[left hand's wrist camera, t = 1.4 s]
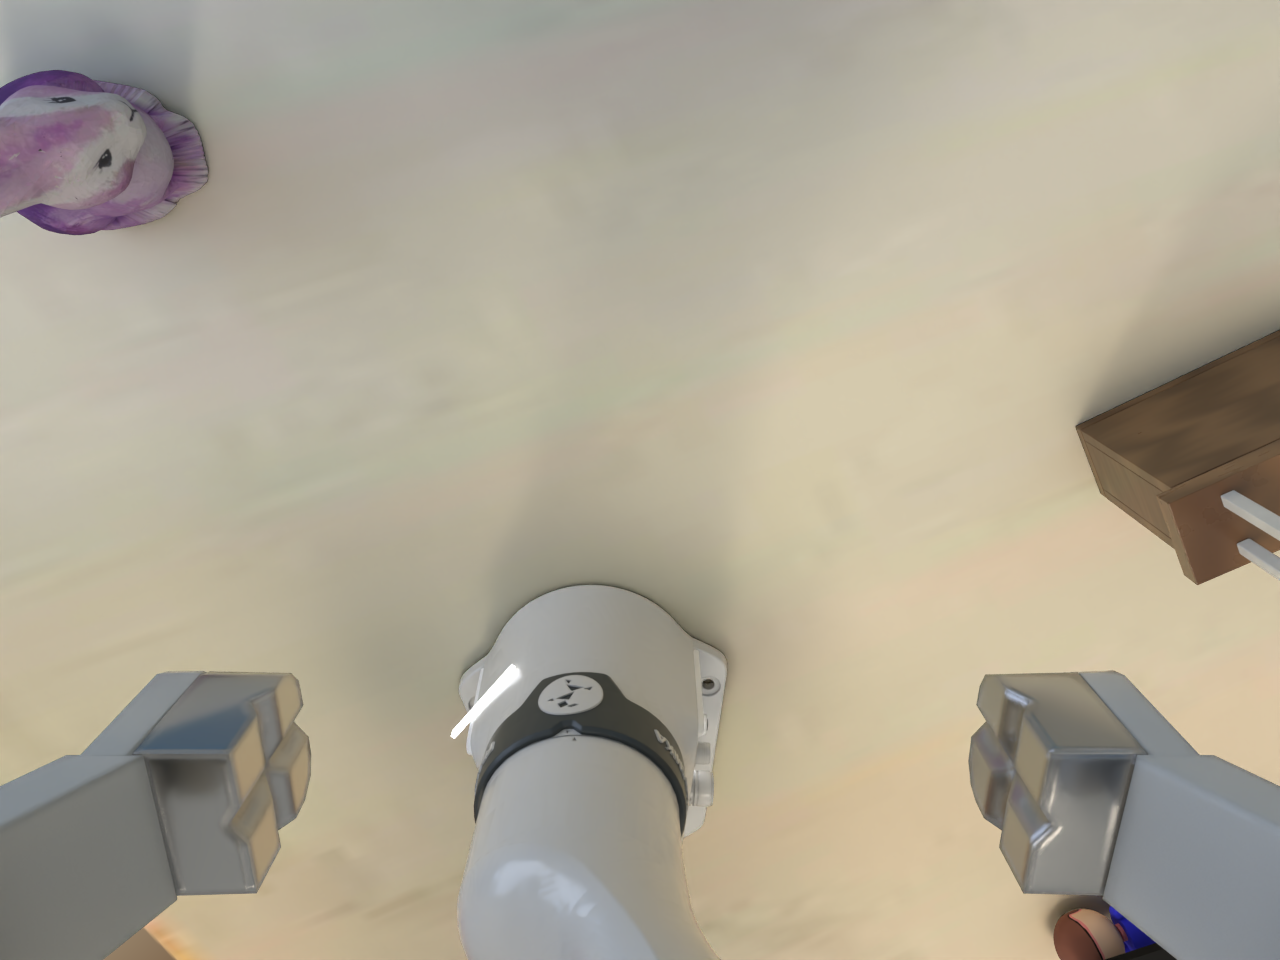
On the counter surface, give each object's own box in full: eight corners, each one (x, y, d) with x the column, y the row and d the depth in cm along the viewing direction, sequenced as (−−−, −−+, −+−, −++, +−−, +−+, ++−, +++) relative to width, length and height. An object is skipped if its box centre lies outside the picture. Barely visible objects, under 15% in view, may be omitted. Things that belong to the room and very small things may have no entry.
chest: (1100, 494, 57) (1198, 568, 47) (1074, 426, 55) (1170, 487, 45) (1317, 395, 54) (1469, 450, 44) (1297, 321, 53) (1450, 361, 43)
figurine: (246, 133, 49) (88, 127, 35) (154, 274, 52) (-27, 320, 38) (95, 9, 47) (-140, -52, 33) (7, 163, 49) (-245, 168, 35)
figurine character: (1210, 826, 68) (1031, 901, 68) (1289, 901, 61) (1089, 984, 61) (1225, 887, 70) (1051, 959, 70) (1303, 967, 63) (1109, 1046, 63)
